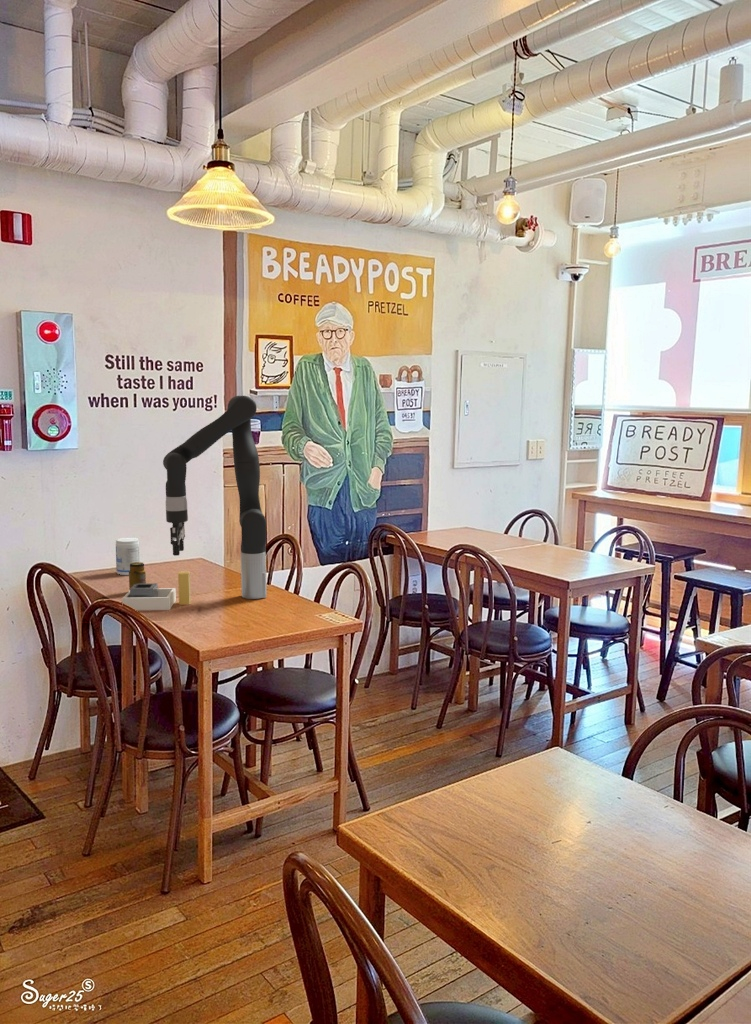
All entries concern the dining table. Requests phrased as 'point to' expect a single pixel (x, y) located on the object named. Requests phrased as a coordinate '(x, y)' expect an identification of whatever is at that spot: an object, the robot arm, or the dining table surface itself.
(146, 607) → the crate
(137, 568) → the condiment
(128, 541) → the supplement tub
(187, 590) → the plug
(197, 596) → the dining table surface
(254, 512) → the robot arm
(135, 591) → the socket
